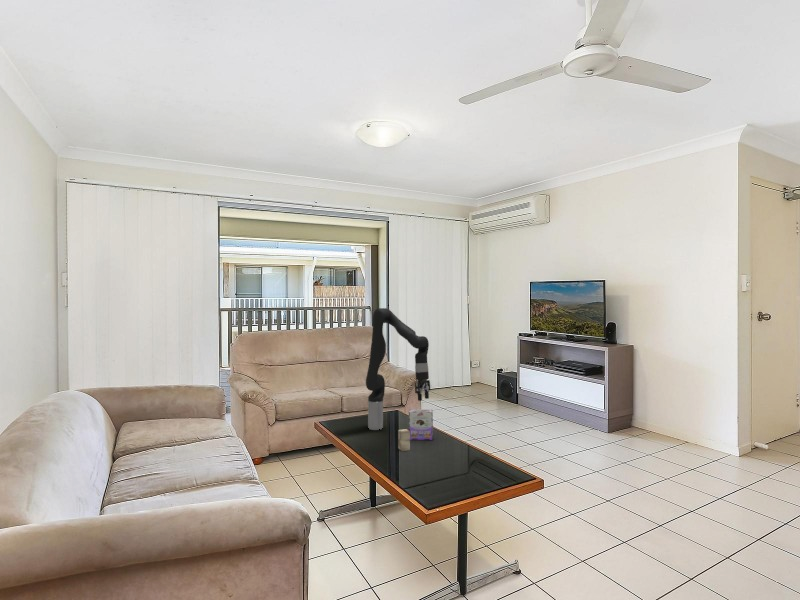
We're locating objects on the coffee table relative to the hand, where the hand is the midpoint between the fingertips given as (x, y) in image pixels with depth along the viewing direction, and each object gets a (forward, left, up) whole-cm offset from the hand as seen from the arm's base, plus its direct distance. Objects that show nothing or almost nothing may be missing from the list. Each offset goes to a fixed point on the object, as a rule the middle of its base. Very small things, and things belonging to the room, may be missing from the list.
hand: (423, 399), depth 256 cm
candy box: (-3, 0, -23) cm, 23 cm away
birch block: (+10, -17, -23) cm, 30 cm away
